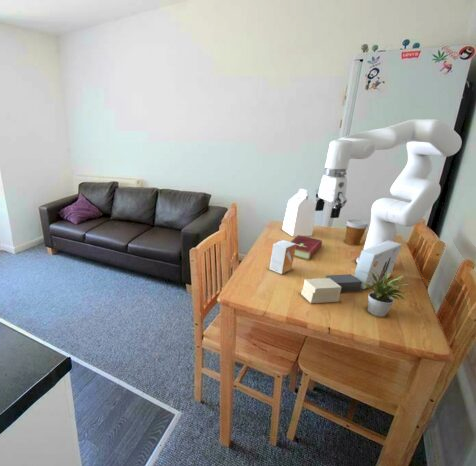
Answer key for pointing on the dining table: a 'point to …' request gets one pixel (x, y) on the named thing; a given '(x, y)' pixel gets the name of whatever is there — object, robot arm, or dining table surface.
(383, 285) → the house plant
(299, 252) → the hardcover book
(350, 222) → the disposable coffee cup
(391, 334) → the dining table surface
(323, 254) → the dining table surface
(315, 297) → the cream book stack
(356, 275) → the skincare box
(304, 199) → the milk
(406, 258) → the dining table surface
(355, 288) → the grey book stack
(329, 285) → the cream book
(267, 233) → the dining table surface
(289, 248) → the small box
